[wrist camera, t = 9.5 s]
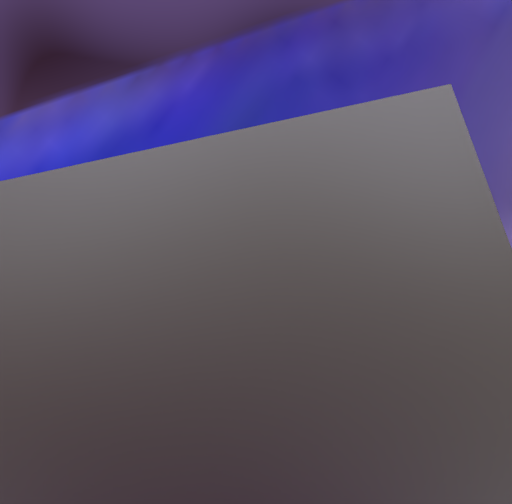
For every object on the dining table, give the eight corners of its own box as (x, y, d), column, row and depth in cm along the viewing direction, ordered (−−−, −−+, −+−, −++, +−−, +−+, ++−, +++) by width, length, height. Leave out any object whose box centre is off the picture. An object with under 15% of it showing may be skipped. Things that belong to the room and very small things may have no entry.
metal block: (360, 440, 16) (684, 717, 3) (216, 472, 16) (-46, 882, 3) (324, 297, 17) (450, 84, 4) (190, 326, 17) (-67, 195, 4)
